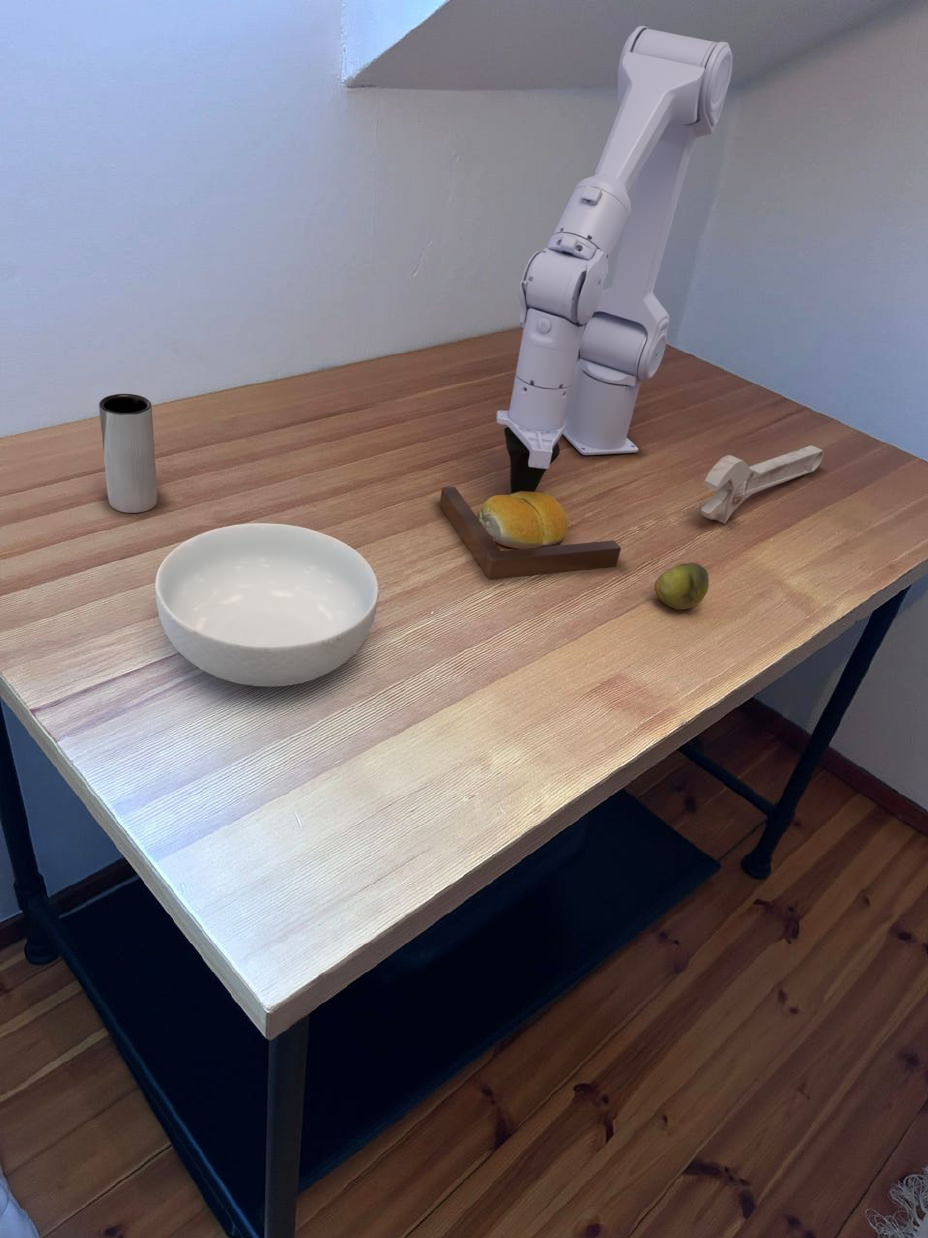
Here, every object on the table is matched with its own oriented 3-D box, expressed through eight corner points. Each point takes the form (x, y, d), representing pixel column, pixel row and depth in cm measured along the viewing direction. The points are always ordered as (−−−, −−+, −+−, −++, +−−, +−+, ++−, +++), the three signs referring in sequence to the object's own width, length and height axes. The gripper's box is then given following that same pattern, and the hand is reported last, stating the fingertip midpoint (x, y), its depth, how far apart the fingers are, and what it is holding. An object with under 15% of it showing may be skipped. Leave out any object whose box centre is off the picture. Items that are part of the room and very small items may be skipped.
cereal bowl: (179, 737, 68) (175, 661, 64) (144, 603, 80) (139, 532, 75) (400, 698, 74) (410, 626, 70) (338, 580, 86) (343, 513, 82)
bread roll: (579, 543, 97) (587, 509, 95) (507, 558, 93) (514, 523, 91) (534, 504, 103) (541, 471, 100) (464, 516, 99) (470, 483, 96)
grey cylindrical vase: (167, 500, 93) (162, 402, 87) (135, 518, 90) (128, 418, 84) (130, 485, 94) (122, 388, 88) (98, 503, 91) (87, 403, 85)
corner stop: (439, 505, 100) (441, 487, 98) (556, 497, 105) (560, 479, 104) (489, 579, 90) (492, 560, 88) (616, 566, 95) (621, 547, 94)
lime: (644, 604, 90) (657, 560, 87) (669, 586, 93) (683, 543, 90) (684, 626, 88) (699, 582, 85) (708, 607, 91) (724, 564, 88)
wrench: (809, 489, 122) (699, 535, 101) (797, 483, 123) (685, 527, 102) (835, 430, 118) (726, 466, 97) (822, 425, 119) (711, 459, 98)
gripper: (500, 345, 99) (481, 461, 107) (508, 402, 87) (486, 527, 95) (566, 354, 100) (542, 468, 108) (583, 411, 88) (555, 535, 96)
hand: (520, 497), depth 102 cm, fingers closed
